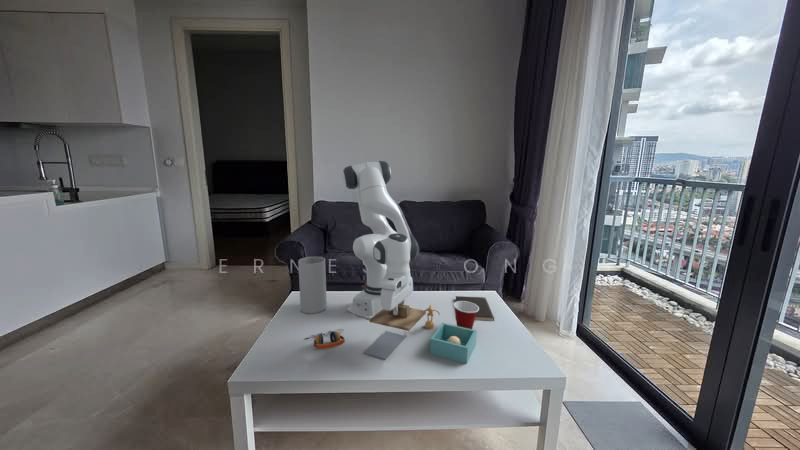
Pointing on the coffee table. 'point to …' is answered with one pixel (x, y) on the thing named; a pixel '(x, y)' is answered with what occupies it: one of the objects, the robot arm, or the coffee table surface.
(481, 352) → the coffee table surface
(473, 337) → the open box
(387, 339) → the mat
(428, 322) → the figurine
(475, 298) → the hardcover book
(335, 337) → the headphones
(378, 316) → the lid
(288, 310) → the coffee table surface
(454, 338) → the ball
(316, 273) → the cylinder vase
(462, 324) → the plastic cup
